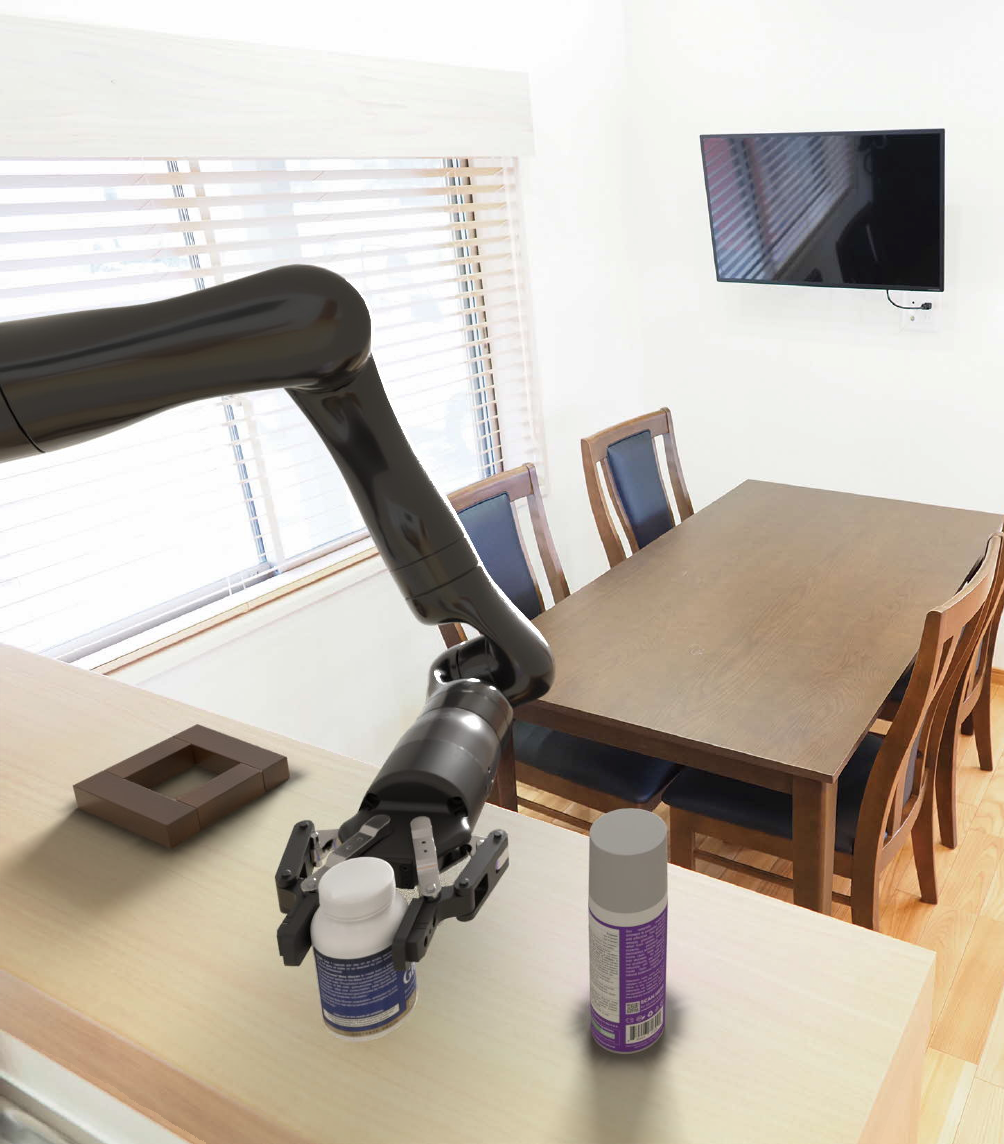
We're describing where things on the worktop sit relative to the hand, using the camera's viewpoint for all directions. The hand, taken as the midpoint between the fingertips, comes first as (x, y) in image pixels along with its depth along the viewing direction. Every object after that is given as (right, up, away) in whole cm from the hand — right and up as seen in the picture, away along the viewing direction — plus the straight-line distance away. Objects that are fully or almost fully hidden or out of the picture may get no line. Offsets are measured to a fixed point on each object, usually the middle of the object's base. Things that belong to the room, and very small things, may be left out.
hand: (344, 956), depth 54 cm
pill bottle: (0, -5, +5) cm, 7 cm away
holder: (-25, +3, +27) cm, 37 cm away
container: (+15, -8, +8) cm, 18 cm away
